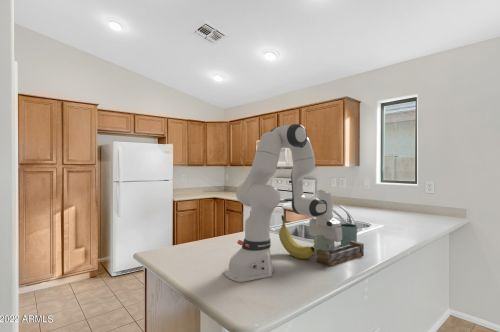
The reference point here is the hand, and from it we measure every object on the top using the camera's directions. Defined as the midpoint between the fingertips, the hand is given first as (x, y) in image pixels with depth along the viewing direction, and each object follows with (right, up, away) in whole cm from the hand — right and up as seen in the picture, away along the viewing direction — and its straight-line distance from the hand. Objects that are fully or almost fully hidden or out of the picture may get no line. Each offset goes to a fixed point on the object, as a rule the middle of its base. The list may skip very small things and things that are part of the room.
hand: (324, 246), depth 145 cm
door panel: (0, -4, 0) cm, 4 cm away
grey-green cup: (+18, -4, +13) cm, 22 cm away
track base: (+6, -4, -9) cm, 11 cm away
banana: (-16, -4, -5) cm, 17 cm away
